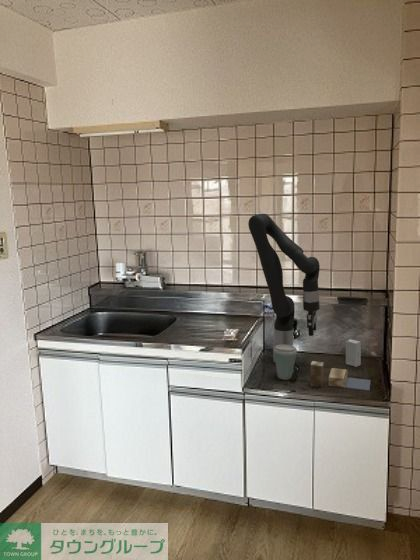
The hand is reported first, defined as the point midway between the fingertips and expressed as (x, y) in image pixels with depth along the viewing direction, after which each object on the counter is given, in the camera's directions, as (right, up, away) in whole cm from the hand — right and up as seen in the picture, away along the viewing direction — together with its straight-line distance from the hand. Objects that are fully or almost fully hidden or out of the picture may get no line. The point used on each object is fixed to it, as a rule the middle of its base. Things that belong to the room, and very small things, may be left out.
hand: (312, 332), depth 219 cm
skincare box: (+21, -16, +6) cm, 28 cm away
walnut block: (-2, -21, -15) cm, 26 cm away
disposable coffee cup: (-14, -20, -6) cm, 25 cm away
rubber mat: (+16, -21, -16) cm, 31 cm away
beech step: (+9, -20, -13) cm, 26 cm away
